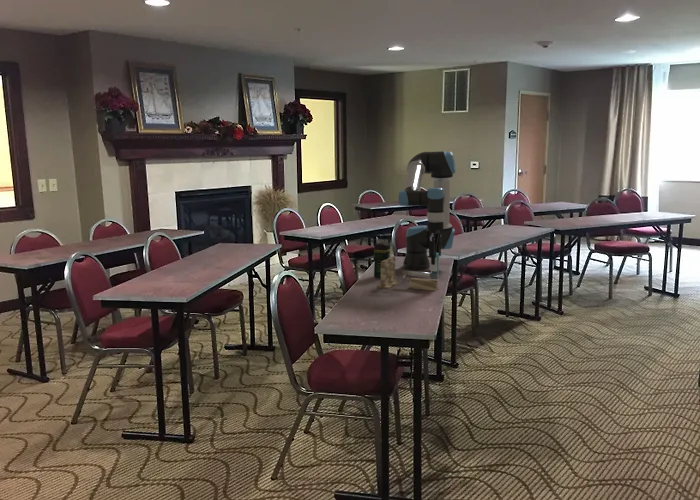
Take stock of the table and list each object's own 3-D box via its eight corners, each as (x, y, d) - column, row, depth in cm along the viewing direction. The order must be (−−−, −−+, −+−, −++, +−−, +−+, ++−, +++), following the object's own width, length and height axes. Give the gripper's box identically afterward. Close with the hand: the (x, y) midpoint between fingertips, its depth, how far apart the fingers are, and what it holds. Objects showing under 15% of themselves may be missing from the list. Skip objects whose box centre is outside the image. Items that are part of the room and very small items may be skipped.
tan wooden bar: (412, 286, 283) (412, 277, 283) (437, 289, 278) (437, 280, 277) (409, 288, 281) (410, 279, 280) (435, 290, 275) (435, 281, 274)
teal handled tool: (404, 276, 284) (404, 249, 282) (439, 279, 277) (439, 252, 274) (402, 277, 282) (402, 251, 279) (436, 281, 274) (437, 253, 272)
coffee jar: (386, 279, 300) (386, 243, 297) (372, 278, 303) (372, 243, 300) (392, 275, 309) (392, 240, 306) (378, 274, 312) (378, 240, 308)
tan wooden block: (388, 281, 295) (388, 256, 293) (399, 282, 292) (399, 257, 290) (376, 287, 283) (376, 261, 280) (388, 288, 280) (388, 262, 278)
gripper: (433, 218, 280) (432, 266, 284) (421, 222, 265) (421, 273, 270) (448, 219, 276) (447, 267, 281) (437, 223, 262) (437, 274, 266)
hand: (434, 270), depth 275 cm, fingers closed on teal handled tool, 3 cm apart
